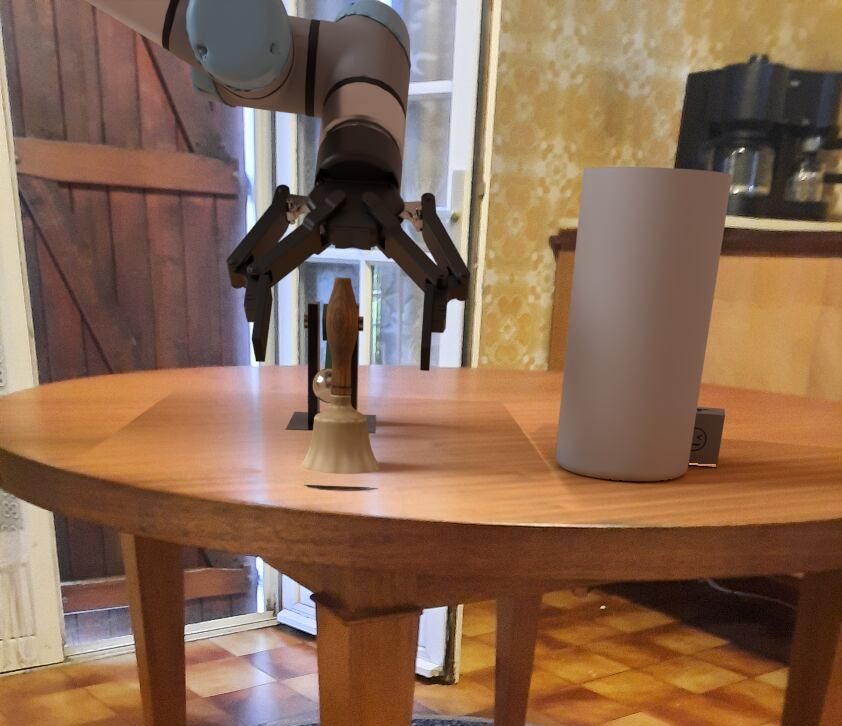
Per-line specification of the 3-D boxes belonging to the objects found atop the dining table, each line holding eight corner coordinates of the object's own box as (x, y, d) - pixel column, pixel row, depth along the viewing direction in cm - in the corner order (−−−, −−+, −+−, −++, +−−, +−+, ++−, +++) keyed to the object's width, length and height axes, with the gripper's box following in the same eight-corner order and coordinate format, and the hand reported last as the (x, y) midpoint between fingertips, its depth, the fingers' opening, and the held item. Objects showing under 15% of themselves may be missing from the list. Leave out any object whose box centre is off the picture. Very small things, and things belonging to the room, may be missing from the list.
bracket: (374, 445, 108) (378, 308, 102) (285, 442, 107) (283, 304, 102) (375, 426, 118) (379, 302, 113) (294, 423, 118) (293, 298, 112)
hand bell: (280, 472, 94) (277, 273, 87) (369, 469, 97) (373, 276, 90) (308, 492, 87) (307, 278, 80) (403, 488, 90) (410, 281, 83)
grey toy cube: (716, 459, 109) (724, 408, 107) (716, 468, 105) (725, 415, 103) (666, 455, 110) (674, 404, 108) (665, 463, 106) (672, 411, 104)
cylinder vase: (668, 460, 108) (708, 180, 97) (702, 486, 97) (751, 172, 86) (546, 455, 107) (572, 172, 96) (565, 480, 96) (597, 164, 85)
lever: (345, 410, 103) (345, 383, 100) (312, 409, 103) (311, 381, 100) (350, 328, 110) (350, 300, 108) (319, 327, 110) (318, 299, 107)
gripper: (498, 200, 97) (491, 393, 90) (225, 185, 97) (197, 377, 90) (505, 127, 90) (498, 330, 83) (211, 112, 90) (179, 313, 83)
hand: (341, 355), depth 87 cm, fingers open, 13 cm apart
